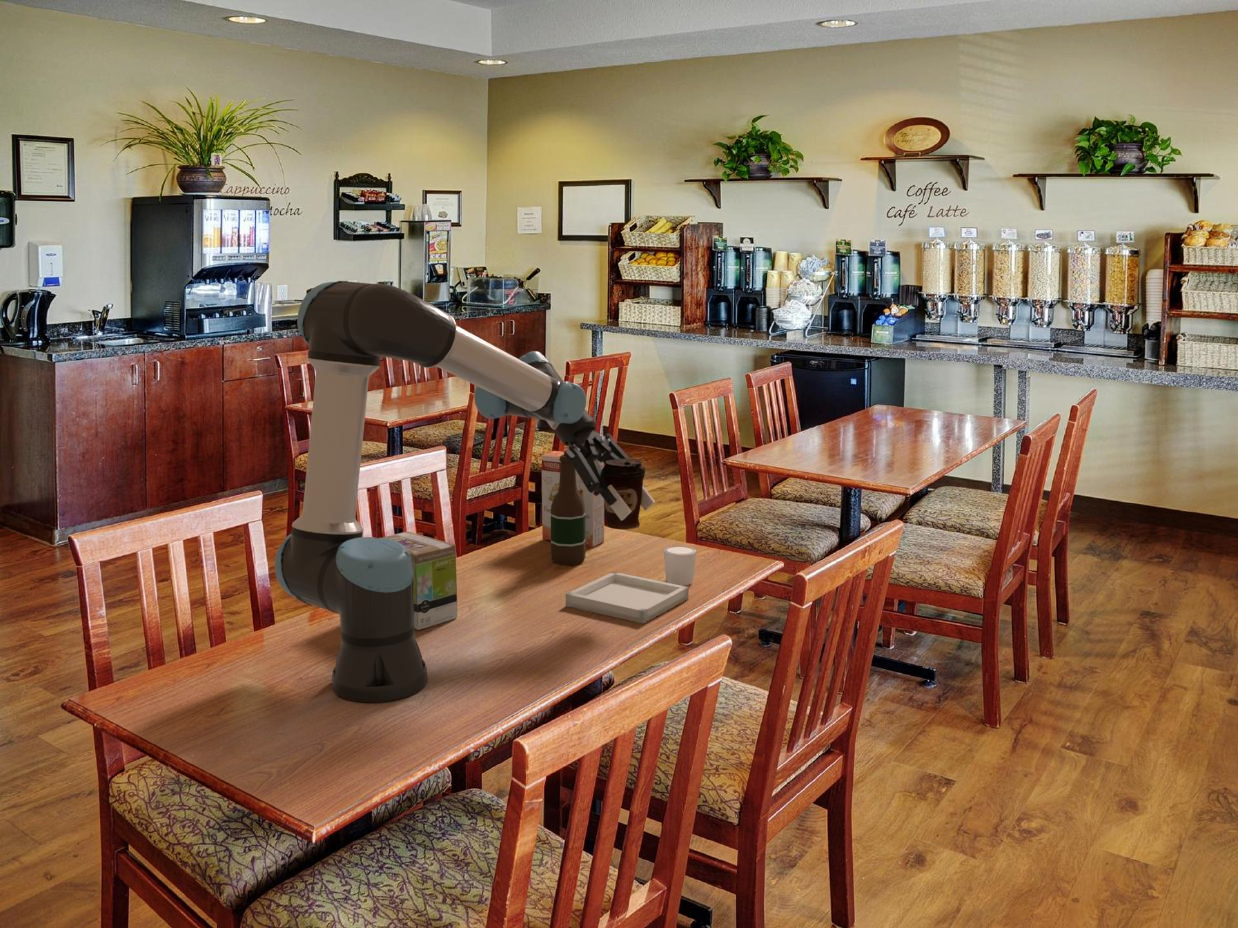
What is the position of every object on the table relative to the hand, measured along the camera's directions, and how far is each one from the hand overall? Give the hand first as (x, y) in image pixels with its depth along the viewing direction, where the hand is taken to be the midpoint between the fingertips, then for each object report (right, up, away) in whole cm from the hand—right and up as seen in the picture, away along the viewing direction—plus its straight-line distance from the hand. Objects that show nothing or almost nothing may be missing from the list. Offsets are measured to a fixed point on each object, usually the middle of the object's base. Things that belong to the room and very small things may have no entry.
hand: (638, 510), depth 214 cm
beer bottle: (-15, -13, +35) cm, 40 cm away
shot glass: (+9, -16, +20) cm, 27 cm away
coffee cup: (-3, -3, +3) cm, 5 cm away
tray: (-2, -18, +8) cm, 20 cm away
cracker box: (-15, -9, +50) cm, 53 cm away
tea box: (-43, -20, 0) cm, 48 cm away
